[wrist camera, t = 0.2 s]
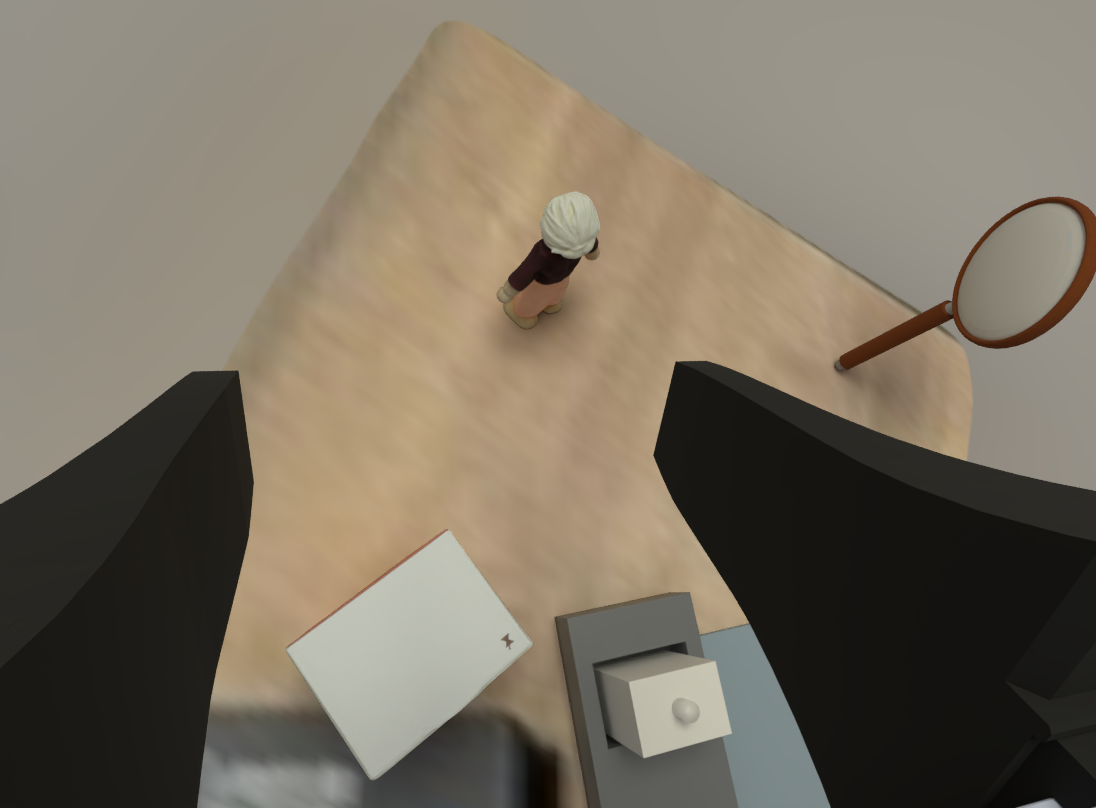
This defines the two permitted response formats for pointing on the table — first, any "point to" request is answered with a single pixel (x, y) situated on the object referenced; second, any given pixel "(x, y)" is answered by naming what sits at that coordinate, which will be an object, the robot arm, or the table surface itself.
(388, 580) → the small box
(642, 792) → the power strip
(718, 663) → the mat
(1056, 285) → the magnifying glass
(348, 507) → the table surface
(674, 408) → the robot arm
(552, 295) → the grandmother figurine
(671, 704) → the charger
